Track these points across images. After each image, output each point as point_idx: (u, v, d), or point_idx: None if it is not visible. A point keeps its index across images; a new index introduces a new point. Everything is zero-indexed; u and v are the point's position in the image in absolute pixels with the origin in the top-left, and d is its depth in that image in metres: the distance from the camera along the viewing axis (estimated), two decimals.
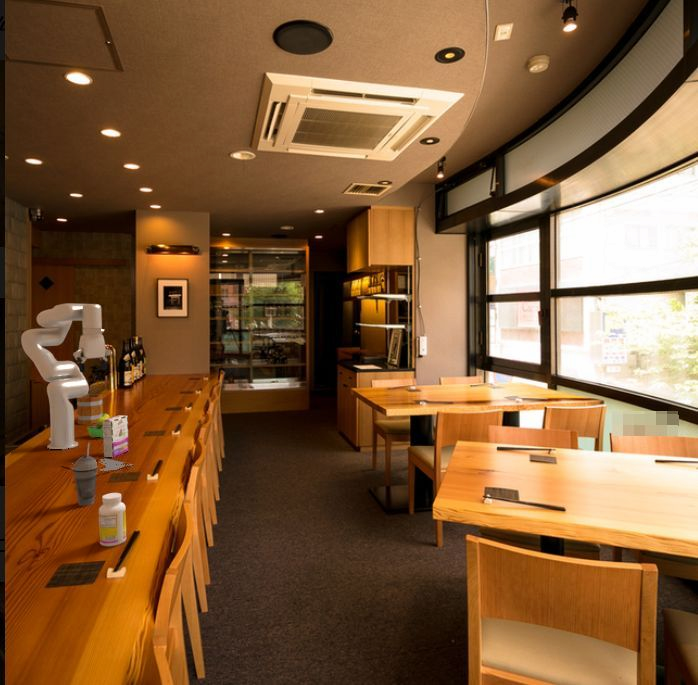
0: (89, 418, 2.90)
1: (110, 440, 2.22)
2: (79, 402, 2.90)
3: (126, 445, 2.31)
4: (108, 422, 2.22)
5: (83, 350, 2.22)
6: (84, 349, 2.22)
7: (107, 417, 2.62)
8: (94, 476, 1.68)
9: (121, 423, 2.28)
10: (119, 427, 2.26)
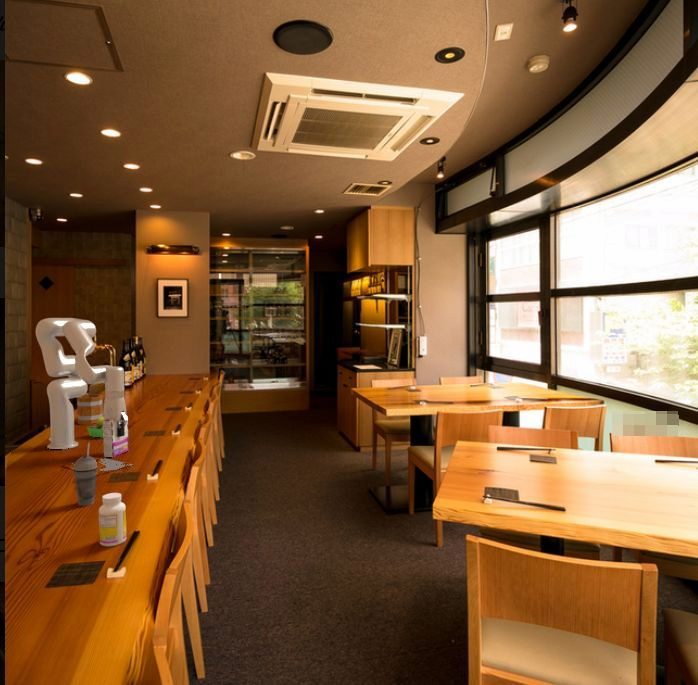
0: (89, 418, 2.90)
1: (110, 440, 2.22)
2: (79, 402, 2.90)
3: (126, 444, 2.31)
4: (108, 422, 2.22)
5: (125, 412, 2.25)
6: (125, 411, 2.26)
7: None
8: (94, 476, 1.68)
9: None
10: None
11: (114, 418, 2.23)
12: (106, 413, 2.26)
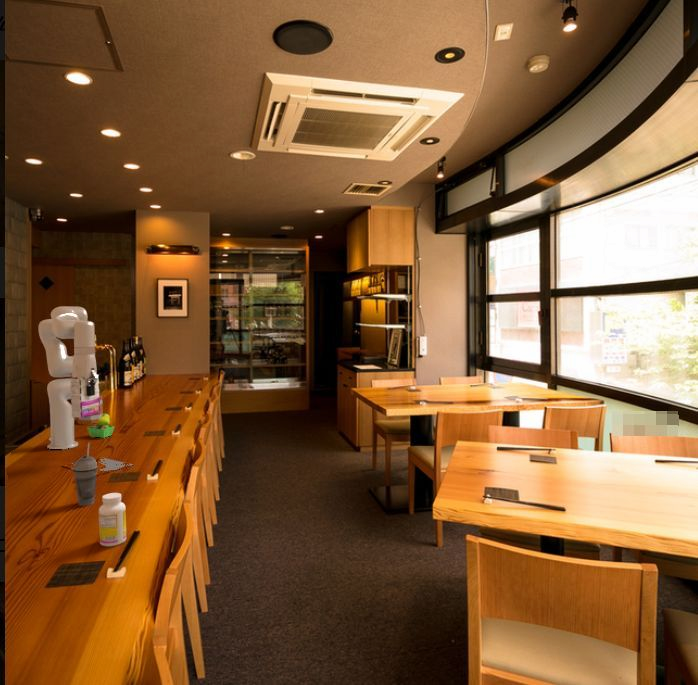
0: (89, 418, 2.90)
1: (78, 399, 2.07)
2: None
3: (97, 405, 2.16)
4: (76, 379, 2.06)
5: (95, 370, 2.10)
6: (95, 369, 2.11)
7: (107, 417, 2.62)
8: (94, 476, 1.68)
9: None
10: None
11: (83, 375, 2.08)
12: (75, 371, 2.11)
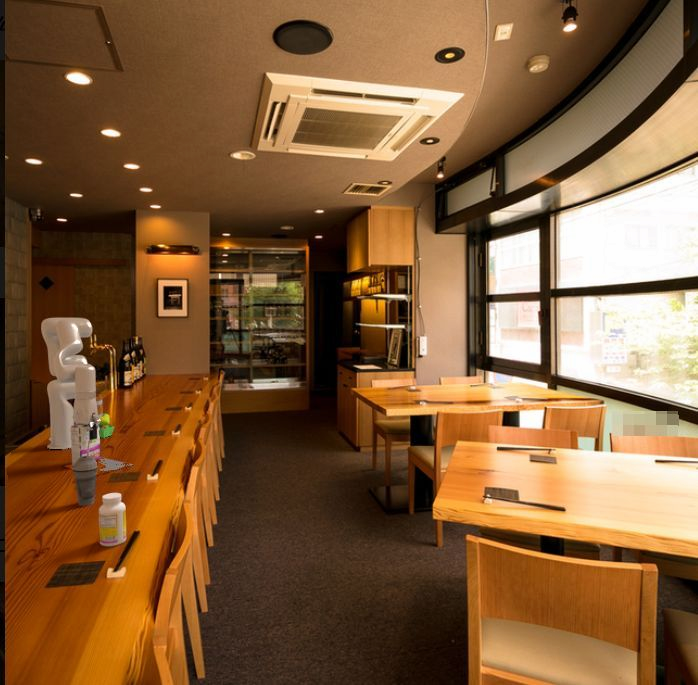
0: None
1: (78, 447, 2.08)
2: None
3: (97, 452, 2.17)
4: (76, 428, 2.08)
5: (96, 415, 2.11)
6: (96, 413, 2.12)
7: (107, 417, 2.62)
8: (94, 476, 1.68)
9: None
10: None
11: (84, 421, 2.09)
12: (76, 415, 2.12)
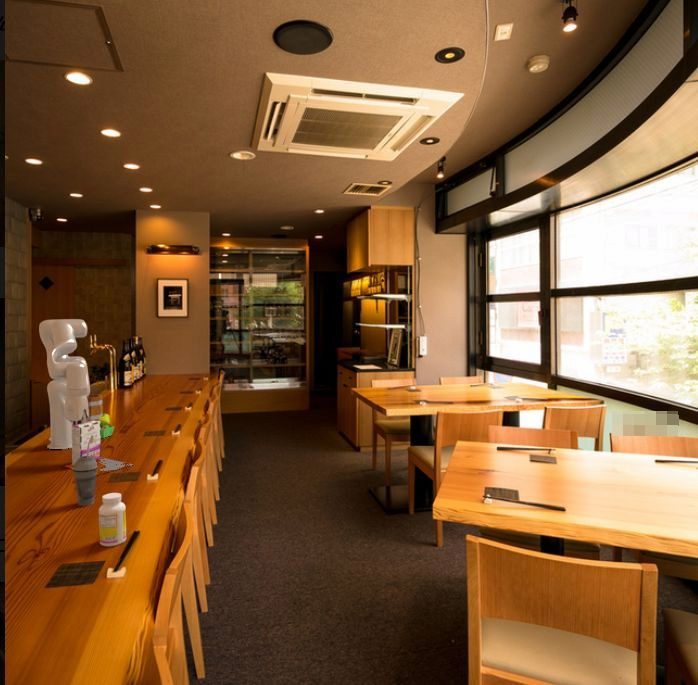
0: (89, 418, 2.90)
1: (78, 447, 2.08)
2: None
3: (97, 452, 2.17)
4: (77, 428, 2.08)
5: (87, 411, 2.14)
6: (87, 410, 2.15)
7: (107, 417, 2.62)
8: (94, 476, 1.68)
9: (93, 429, 2.14)
10: (90, 434, 2.12)
11: (75, 417, 2.12)
12: (67, 412, 2.14)
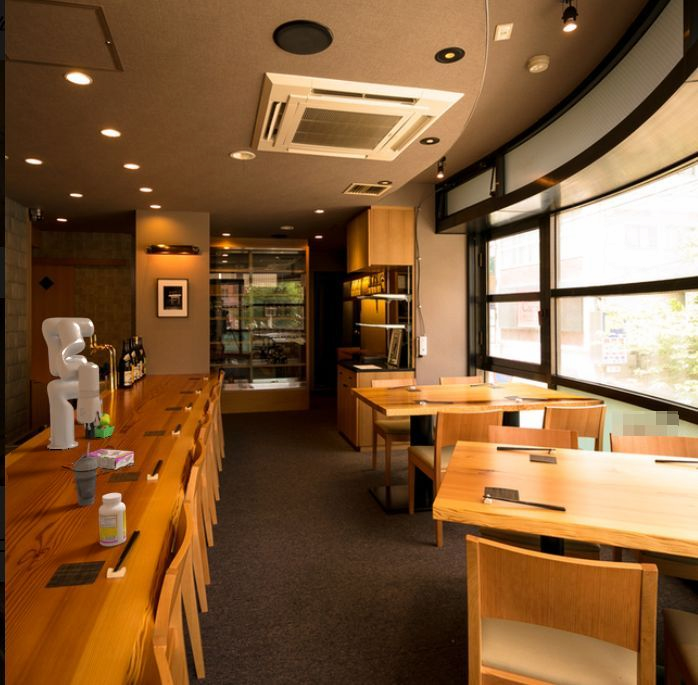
0: None
1: (97, 465, 2.06)
2: None
3: None
4: (113, 465, 2.04)
5: (99, 413, 2.10)
6: (100, 412, 2.11)
7: (107, 417, 2.62)
8: (94, 476, 1.68)
9: None
10: None
11: (88, 419, 2.08)
12: (79, 414, 2.10)
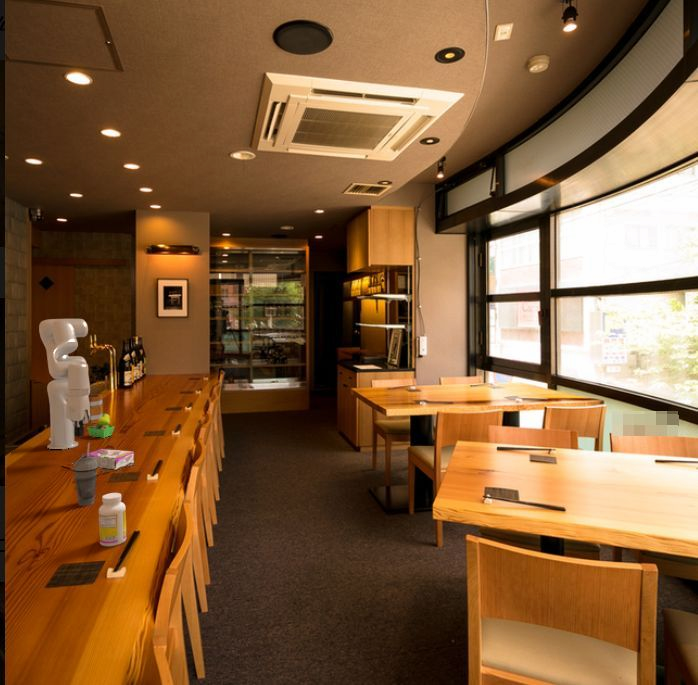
0: (89, 418, 2.90)
1: (97, 465, 2.06)
2: None
3: None
4: (113, 465, 2.04)
5: (88, 411, 2.14)
6: (89, 410, 2.15)
7: (107, 417, 2.62)
8: (94, 476, 1.68)
9: None
10: None
11: (77, 417, 2.12)
12: (69, 412, 2.14)
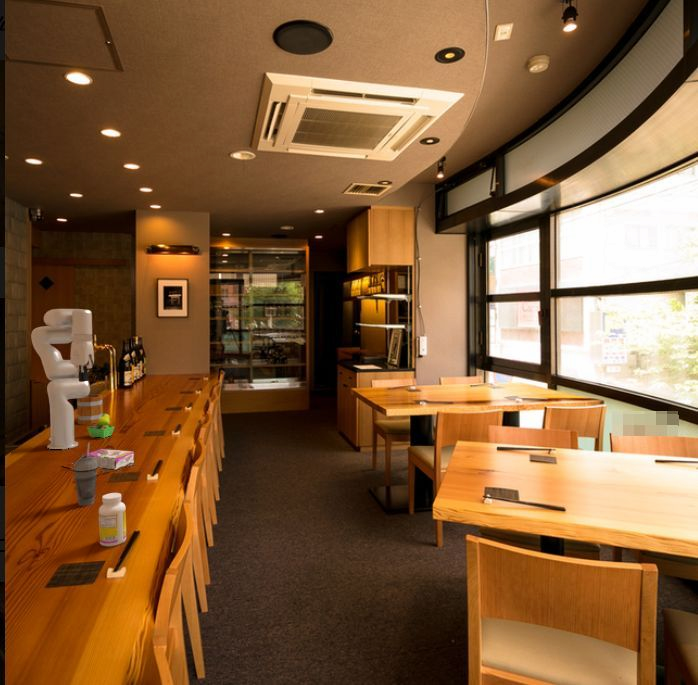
0: (89, 418, 2.90)
1: (97, 465, 2.06)
2: (79, 402, 2.90)
3: None
4: (113, 465, 2.04)
5: (92, 356, 2.19)
6: (93, 355, 2.19)
7: (107, 417, 2.62)
8: (94, 476, 1.68)
9: None
10: None
11: (81, 361, 2.17)
12: (73, 357, 2.19)
